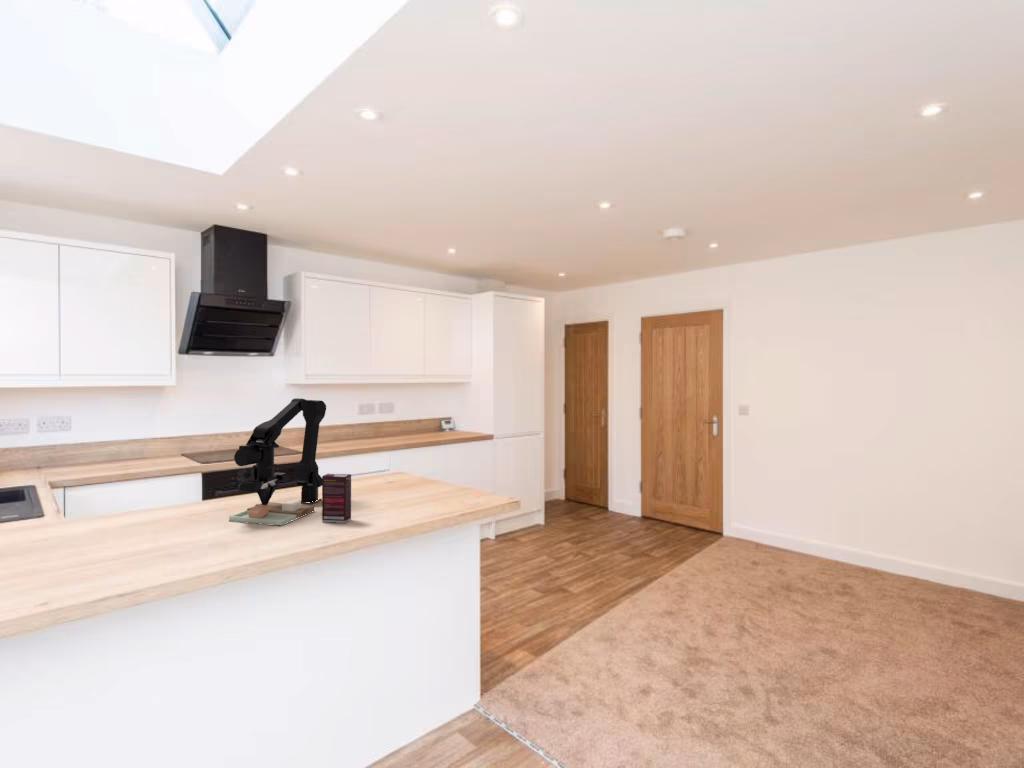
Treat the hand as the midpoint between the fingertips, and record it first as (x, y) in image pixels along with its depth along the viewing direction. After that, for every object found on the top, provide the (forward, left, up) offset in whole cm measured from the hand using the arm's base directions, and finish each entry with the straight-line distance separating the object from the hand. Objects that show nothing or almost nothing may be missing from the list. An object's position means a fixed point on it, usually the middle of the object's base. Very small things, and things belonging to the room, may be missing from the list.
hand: (264, 506), depth 181 cm
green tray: (+5, +3, -4) cm, 6 cm away
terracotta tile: (+3, 0, -2) cm, 3 cm away
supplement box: (-2, +27, -4) cm, 27 cm away
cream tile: (-4, +8, -2) cm, 9 cm away
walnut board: (-5, +3, -4) cm, 7 cm away
